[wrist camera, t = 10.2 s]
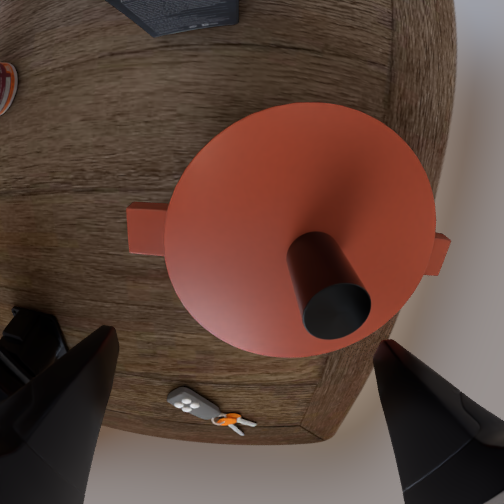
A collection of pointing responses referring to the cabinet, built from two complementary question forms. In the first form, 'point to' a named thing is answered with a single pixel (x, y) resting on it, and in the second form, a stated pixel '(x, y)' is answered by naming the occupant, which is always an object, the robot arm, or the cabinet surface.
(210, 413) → the key chain
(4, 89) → the pill bottle
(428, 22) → the cabinet surface
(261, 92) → the cabinet surface
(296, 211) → the lid
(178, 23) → the box
